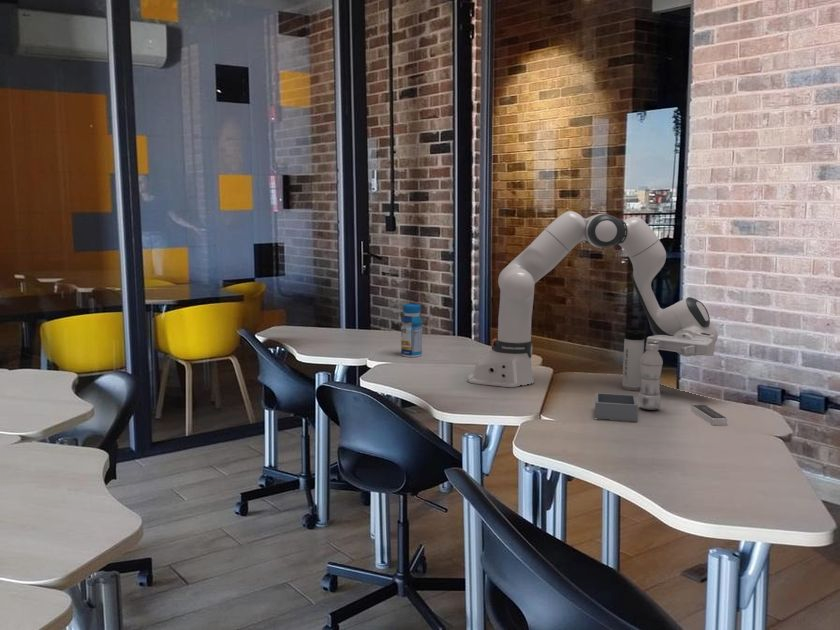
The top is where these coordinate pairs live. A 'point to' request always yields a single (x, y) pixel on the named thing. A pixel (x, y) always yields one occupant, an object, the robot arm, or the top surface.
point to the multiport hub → (709, 415)
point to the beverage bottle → (411, 331)
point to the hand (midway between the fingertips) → (668, 348)
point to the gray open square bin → (616, 406)
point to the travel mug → (632, 358)
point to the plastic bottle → (650, 377)
